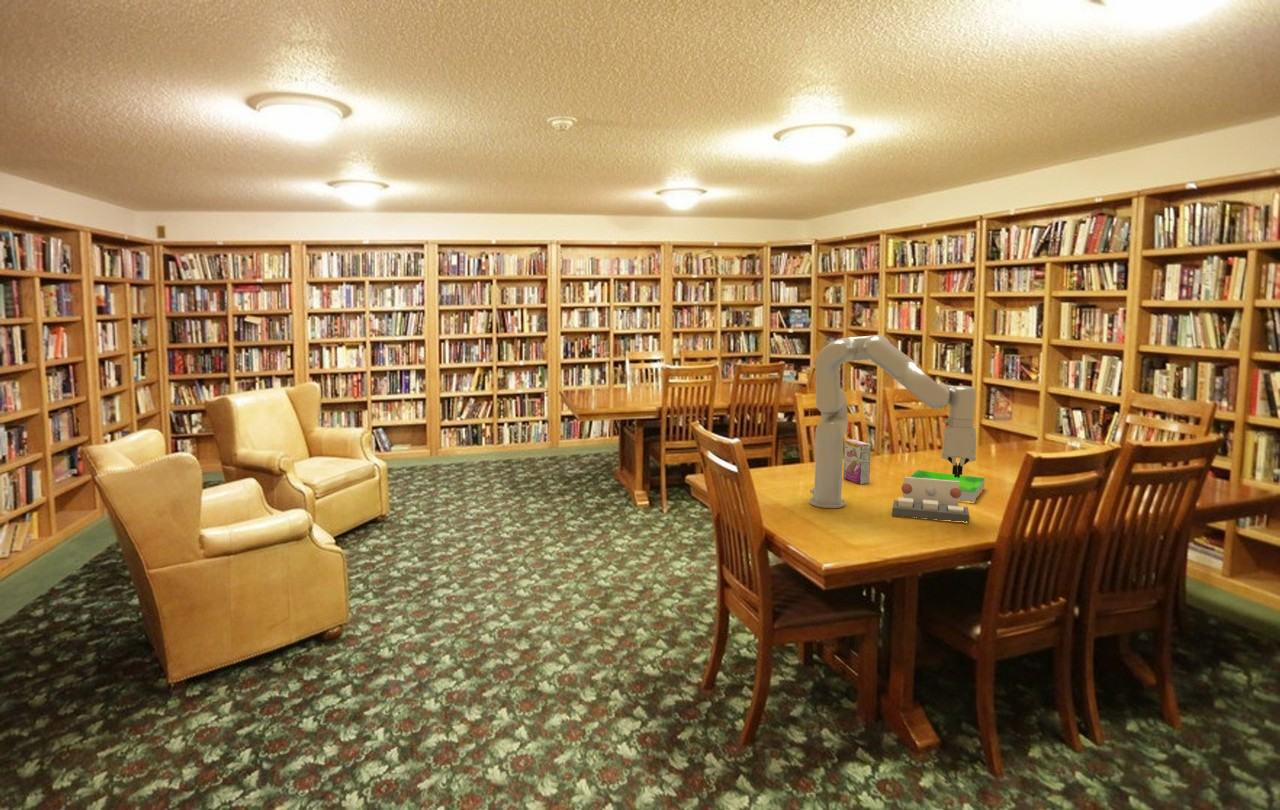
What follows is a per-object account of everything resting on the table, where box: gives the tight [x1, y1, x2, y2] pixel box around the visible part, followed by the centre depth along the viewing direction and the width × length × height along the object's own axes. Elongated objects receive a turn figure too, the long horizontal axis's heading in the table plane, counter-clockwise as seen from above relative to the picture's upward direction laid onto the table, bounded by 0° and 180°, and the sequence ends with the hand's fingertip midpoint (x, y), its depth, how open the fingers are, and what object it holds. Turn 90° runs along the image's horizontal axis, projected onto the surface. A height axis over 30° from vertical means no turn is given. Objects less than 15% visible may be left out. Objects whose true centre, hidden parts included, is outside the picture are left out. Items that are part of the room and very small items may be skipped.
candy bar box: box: [842, 438, 872, 485], centre depth 297 cm, size 11×5×16 cm, turn 22°
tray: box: [902, 469, 986, 502], centre depth 281 cm, size 25×25×5 cm
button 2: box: [948, 505, 964, 513], centre depth 247 cm, size 5×5×3 cm
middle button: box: [923, 500, 938, 510], centre depth 250 cm, size 5×5×3 cm
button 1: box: [897, 496, 913, 508], centre depth 253 cm, size 5×5×3 cm
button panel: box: [891, 476, 970, 523], centre depth 251 cm, size 24×14×11 cm, turn 68°
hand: (956, 476), depth 245 cm, fingers closed
